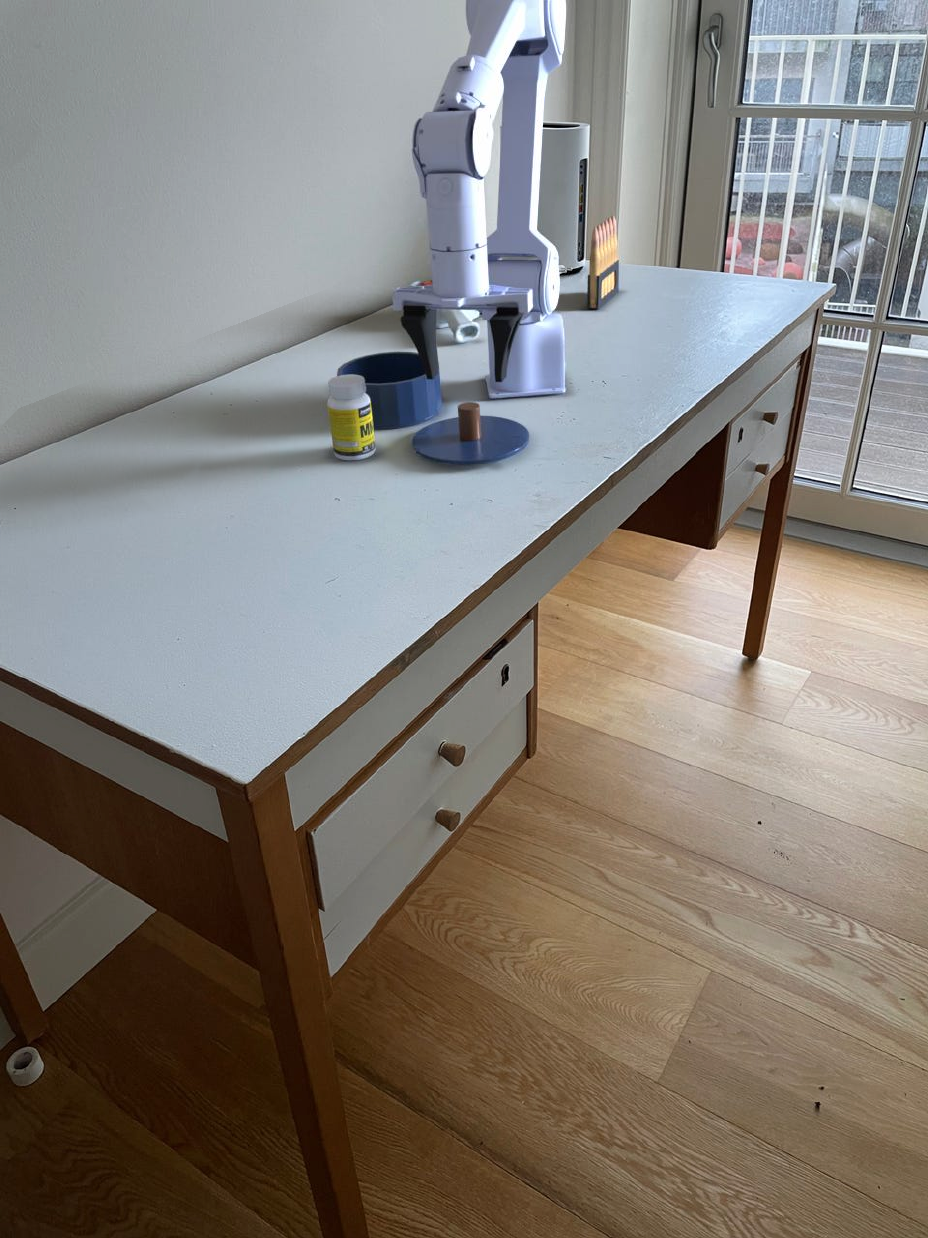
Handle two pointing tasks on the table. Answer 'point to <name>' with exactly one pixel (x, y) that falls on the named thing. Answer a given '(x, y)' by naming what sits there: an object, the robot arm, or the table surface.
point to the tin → (397, 388)
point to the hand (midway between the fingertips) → (466, 377)
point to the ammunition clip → (603, 265)
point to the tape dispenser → (456, 320)
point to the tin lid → (470, 438)
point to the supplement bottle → (350, 418)
